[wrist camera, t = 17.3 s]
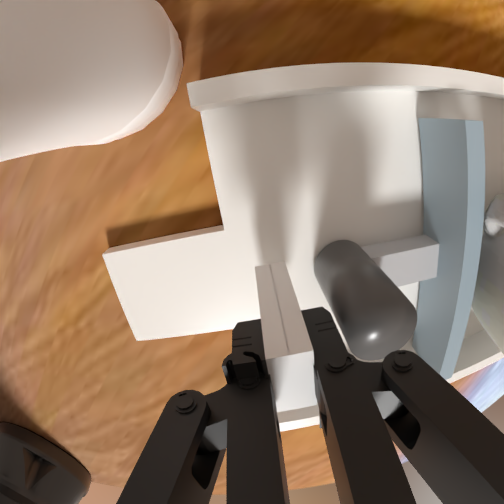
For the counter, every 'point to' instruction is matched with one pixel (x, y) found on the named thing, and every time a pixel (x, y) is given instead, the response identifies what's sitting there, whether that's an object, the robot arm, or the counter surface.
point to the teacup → (491, 274)
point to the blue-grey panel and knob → (417, 259)
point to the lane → (305, 192)
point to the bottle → (82, 71)
